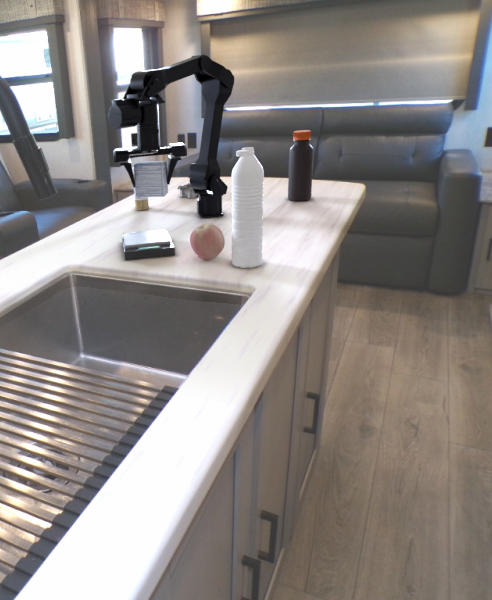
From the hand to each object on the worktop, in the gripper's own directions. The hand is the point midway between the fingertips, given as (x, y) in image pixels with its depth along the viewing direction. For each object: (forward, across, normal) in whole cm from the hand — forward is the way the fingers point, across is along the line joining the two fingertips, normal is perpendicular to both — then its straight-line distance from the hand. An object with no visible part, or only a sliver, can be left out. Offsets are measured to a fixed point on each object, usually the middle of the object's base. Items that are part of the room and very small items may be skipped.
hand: (151, 185), depth 142 cm
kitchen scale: (+13, +3, +14) cm, 19 cm away
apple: (+13, -10, +25) cm, 30 cm away
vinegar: (+12, -46, -21) cm, 52 cm away
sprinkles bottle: (+13, +2, -27) cm, 30 cm away
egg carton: (+13, -17, -40) cm, 46 cm away
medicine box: (+3, 0, 0) cm, 3 cm away
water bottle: (+13, -17, +32) cm, 38 cm away
